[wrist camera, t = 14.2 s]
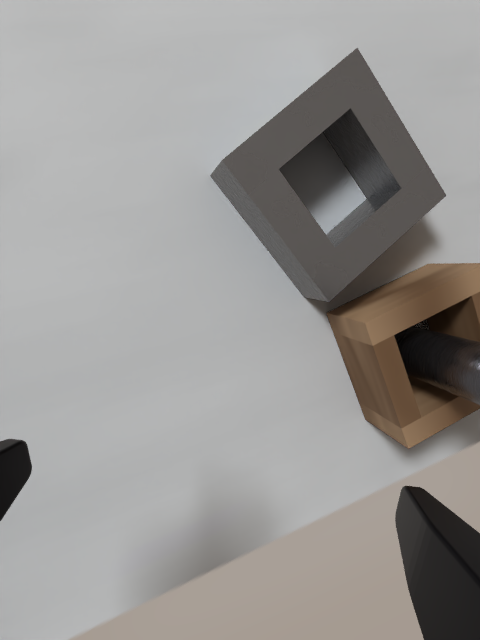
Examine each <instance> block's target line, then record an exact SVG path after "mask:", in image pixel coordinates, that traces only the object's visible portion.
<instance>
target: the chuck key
mask: <svg viewBox="0 0 480 640" xmlns="http://www.w3.org/2000/svg"><path fill="white" fill-rule="evenodd" d="M394 336H395V339H396V342H397V345H398V348H399V351H400V354H401V357H402V360H403V363H404V366H405V369H406V373H407V374H408V375H410V376H412V377H415V378H417V379H419V380H422V381H424V382H427V383H429V384H431V385H434V386H436V387H438V388H441V389H443V390H445V391H448V392H450V393H452V394H455V395H457V396H460V397H462V398H464V399H467V400H469V401H471V402H474V403H476V404H478V405H480V342H478V341H474V340H470V339H465V338H461V337H457V336H452V335H448V334H444V333H440V332H435V331H431V330H427V329H423V328H418V327H414V326H411V327H409V328H407V329H405V330H403V331H401V332H399V333H397V334H395V335H394Z"/></svg>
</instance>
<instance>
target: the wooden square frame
mask: <svg viewBox="0 0 480 640" xmlns="http://www.w3.org/2000/svg"><path fill="white" fill-rule="evenodd" d="M326 314H327V317H328V319H329V322H330V325H331V327H332V330H333V333H334V336H335V338H336V341H337V344H338V347H339V349H340V352H341V355H342V357H343V360H344V363H345V366H346V368H347V371H348V374H349V376H350V379H351V382H352V385H353V387H354V390H355V393H356V395H357V398H358V401H359V404H360V406H361V409H362V412H363V414H364V417H365V420H367V421H368V422H370V423H371V424H373V425H374V426H376V427H377V428H379V429H380V430H382V431H383V432H385V433H386V434H387V435H389V436H390V437H392V438H393V439H395V440H396V441H398V442H399V443H401V444H402V445H404V446H405V447H407V448H408V449H409V448H411V447H413V446H414V445H416V444H418V443H420V442H421V441H423V440H425V439H427V438H428V437H430V436H432V435H434V434H436V433H437V432H439V431H441V430H443V429H444V428H446V427H448V426H450V425H451V424H453V423H455V422H457V421H458V420H460V419H462V418H464V417H465V416H467V415H469V414H471V413H472V412H474V411H476V410H478V409H479V408H480V405H478V404H476V403H474V402H471V401H469V400H467V399H464V398H462V397H460V396H457V395H455V394H452V393H450V392H448V391H445V390H443V389H441V388H438V387H436V386H434V385H431V384H429V383H427V382H424V381H422V380H419V379H417V378H415V377H412V376H410V375H409V376H407V373H406V369H405V366H404V363H403V360H402V357H401V354H400V351H399V348H398V345H397V342H396V339H395V336H394V335H395V334H397V333H399V332H401V331H403V330H405V329H407V328H409V327H411V326H413V325H415V324H417V323H419V322H421V321H423V320H425V319H427V322H428V326H429V329H430V330H431V331H435V332H440V333H444V334H448V335H452V336H457V337H461V338H465V339H470V340H474V341H478V342H480V263H461V264H427V265H425V266H423V267H421V268H419V269H417V270H415V271H413V272H410V273H408V274H406V275H404V276H402V277H400V278H398V279H396V280H394V281H392V282H390V283H388V284H386V285H383V286H381V287H379V288H377V289H375V290H373V291H371V292H369V293H367V294H365V295H363V296H361V297H358V298H356V299H354V300H352V301H350V302H348V303H346V304H344V305H342V306H340V307H338V308H336V309H334V310H331V311H329V312H327V313H326Z"/></svg>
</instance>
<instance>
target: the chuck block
mask: <svg viewBox="0 0 480 640" xmlns="http://www.w3.org/2000/svg"><path fill="white" fill-rule="evenodd" d="M322 132H323V133H324V134H325V136H326V137H327V139H328V140H329V142H330V143H331V145H332V146H333V148H334V149H335V151H336V152H337V154H338V155H339V157H340V158H341V160H342V161H343V163H344V164H345V166H346V167H347V169H348V170H349V172H350V173H351V175H352V176H353V178H354V179H355V181H356V182H357V184H358V185H359V187H360V188H361V190H362V191H363V193H364V194H365V196H366V197H367V199H366V200H365V201H364V202H363V203H362V204H361V205H360V206H358V207H357V208H356V209H355V210H354V211H353V212H352V213H351V214H349V215H348V216H347V217H346V218H345V219H344V220H343V221H342V222H340V223H339V224H338V225H337V226H336V227H335V228H334V229H332V230H331V231H330V232H329V233H328V234H327V235H326V234H325V233H324V232H323V230H322V229H321V227H320V226H319V225H318V223H317V222H316V220H315V219H314V218H313V216H312V215H311V213H310V212H309V211H308V209H307V208H306V206H305V205H304V204H303V202H302V201H301V200H300V198H299V197H298V195H297V194H296V193H295V191H294V190H293V188H292V187H291V186H290V184H289V183H288V181H287V180H286V179H285V177H284V176H283V174H282V173H281V172H280V170H279V169H280V168H281V167H282V166H283V165H284V164H285V163H287V162H288V161H289V160H290V159H291V158H292V157H294V156H295V155H296V154H297V153H298V152H300V151H301V150H302V149H303V148H304V147H305V146H307V145H308V144H309V143H310V142H311V141H312V140H314V139H315V138H316V137H317V136H318V135H320V134H321V133H322ZM210 176H211V177H212V179H213V180H214V181H215V182H216V184H217V185H218V186H219V188H220V189H221V190H222V191H223V193H224V194H225V195H226V197H227V198H228V199H229V200H230V202H231V203H232V204H233V206H234V207H235V208H236V210H237V211H238V212H239V213H240V215H241V216H242V217H243V219H244V220H245V221H246V222H247V224H248V225H249V226H250V228H251V229H252V230H253V232H254V233H255V234H256V235H257V237H258V238H259V239H260V241H261V242H262V243H263V244H264V246H265V247H266V248H267V250H268V251H269V252H270V254H271V255H272V256H273V257H274V259H275V260H276V261H277V263H278V264H279V265H280V266H281V268H282V269H283V270H284V272H285V273H286V274H287V275H288V277H289V278H290V279H291V281H292V282H293V283H294V285H295V286H296V287H297V288H298V290H299V291H300V292H301V294H302V295H303V296H304V297H306V298H311V299H316V300H322V301H327V302H330V301H331V300H332V299H333V298H334V297H335V296H336V295H337V294H338V293H339V292H341V291H342V290H343V289H344V288H345V287H346V286H347V285H348V284H349V283H350V282H352V281H353V280H354V279H355V278H356V277H357V276H358V275H359V274H360V273H361V272H363V271H364V270H365V269H366V268H367V267H368V266H369V265H370V264H371V263H373V262H374V261H375V260H376V259H377V258H378V257H379V256H380V255H381V254H382V253H384V252H385V251H386V250H387V249H388V248H389V247H390V246H391V245H392V244H393V243H395V242H396V241H397V240H398V239H399V238H400V237H401V236H402V235H403V234H404V233H406V232H407V231H408V230H409V229H410V228H411V227H412V226H413V225H414V224H415V223H417V222H418V221H419V220H420V219H421V218H422V217H423V216H424V215H425V214H426V213H428V212H429V211H430V210H431V209H432V208H433V207H434V206H435V205H436V204H437V203H439V202H440V201H441V200H442V199H443V198H444V197H445V196H446V194H445V193H444V191H443V189H442V188H441V186H440V184H439V183H438V181H437V179H436V178H435V176H434V174H433V173H432V171H431V169H430V168H429V166H428V164H427V163H426V161H425V159H424V158H423V156H422V154H421V153H420V151H419V149H418V148H417V146H416V144H415V143H414V141H413V139H412V138H411V136H410V134H409V133H408V131H407V129H406V128H405V126H404V124H403V123H402V121H401V120H400V118H399V116H398V115H397V113H396V111H395V110H394V108H393V106H392V105H391V103H390V101H389V100H388V98H387V96H386V95H385V93H384V91H383V90H382V88H381V86H380V85H379V83H378V81H377V80H376V78H375V76H374V75H373V73H372V71H371V70H370V68H369V66H368V65H367V63H366V61H365V60H364V58H363V56H362V55H361V53H360V51H359V50H358V48H356V49H355V50H354V51H353V52H352V53H350V54H349V55H348V56H347V57H346V58H344V59H343V60H342V61H341V62H340V63H338V64H337V65H336V66H335V67H334V68H332V69H331V70H330V71H329V72H328V73H326V74H325V75H324V76H323V77H322V78H320V79H319V80H318V81H317V82H316V83H314V84H313V85H312V86H311V87H310V88H308V89H307V90H306V91H305V92H304V93H302V94H301V95H300V96H299V97H298V98H296V99H295V100H294V101H293V102H292V103H290V104H289V105H288V106H287V107H285V108H284V109H283V110H282V111H281V112H279V113H278V114H277V115H276V116H275V117H273V118H272V119H271V120H270V121H269V122H267V123H266V124H265V125H264V126H263V127H261V128H260V129H259V130H258V131H257V132H255V133H254V134H253V135H252V136H251V137H249V138H248V139H247V140H246V141H245V142H243V143H242V144H241V145H240V146H239V147H237V148H236V149H235V150H234V151H233V152H231V153H230V154H229V155H228V156H227V157H225V158H224V159H223V160H222V161H221V162H220V164H219V165H218V166H217V167H216V169H215V170H214V171H213V173H212V174H211V175H210Z"/></svg>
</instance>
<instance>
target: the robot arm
mask: <svg viewBox="0 0 480 640" xmlns="http://www.w3.org/2000/svg"><path fill="white" fill-rule="evenodd" d="M31 470H32V465H31V460H30V456H29V451H28V447H27V444H26V442H25V441H23V440H16V439H7V440H4V441H0V521H1V520H2V518H3V517H4V515H5V514H6V512H7V511H8V509H9V508H10V506H11V504H12V503H13V501H14V500H15V498H16V497H17V495H18V494H19V492H20V491H21V489H22V488H23V486H24V485H25V483H26V482H27V480H28V479H29V477H30V474H31ZM395 519H396V520H395V521H396V528H397V533H398V539H399V543H400V549H401V554H402V559H403V564H404V569H405V575H406V580H407V584H408V588H409V592H410V596H411V599H412V603H413V606H414V609H415V612H416V615H417V618H418V622H419V625H420V628H421V631H422V634H423V638H424V640H480V533H479V532H477V531H476V530H475V529H474V528H472V527H471V526H470V525H468V524H467V523H466V522H465V521H463V520H462V519H461V518H460V517H458V516H457V515H456V514H455V513H453V512H452V511H451V510H449V509H448V508H447V507H445V506H444V505H443V504H442V503H441V502H439V501H438V500H437V499H436V498H434V497H433V496H432V495H430V494H429V493H428V492H427V491H425V490H424V489H422V488H420V487H412V486H404V487H403V488H402V490H401V493H400V498H399V502H398V506H397V510H396V518H395Z"/></svg>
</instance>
